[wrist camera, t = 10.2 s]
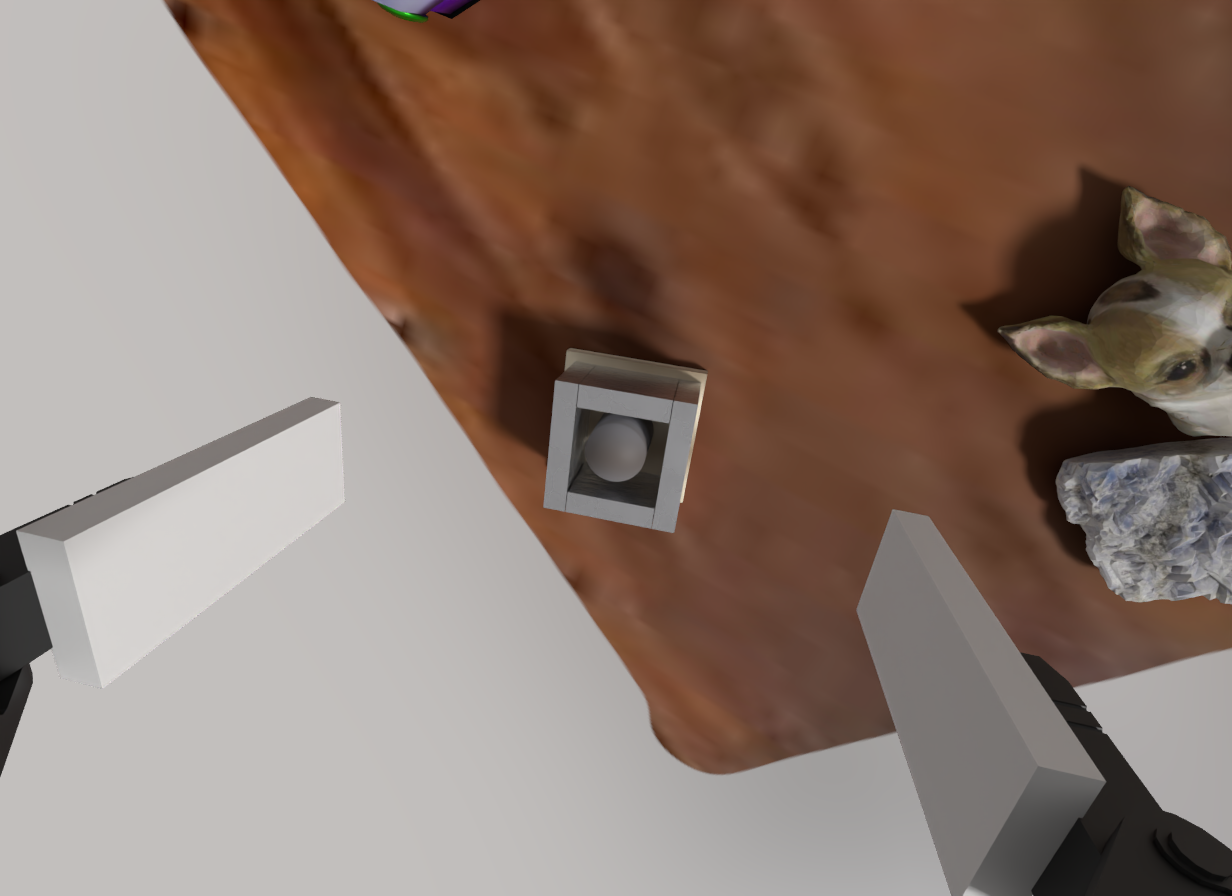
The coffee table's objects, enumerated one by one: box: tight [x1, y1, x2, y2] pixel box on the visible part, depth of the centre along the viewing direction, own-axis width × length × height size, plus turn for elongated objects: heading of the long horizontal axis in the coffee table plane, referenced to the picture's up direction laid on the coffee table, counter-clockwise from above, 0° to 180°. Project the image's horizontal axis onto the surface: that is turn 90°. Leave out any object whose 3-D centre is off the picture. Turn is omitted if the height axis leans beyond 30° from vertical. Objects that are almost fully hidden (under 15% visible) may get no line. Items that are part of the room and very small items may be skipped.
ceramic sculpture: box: [998, 186, 1232, 437], centre depth 33 cm, size 11×9×15 cm
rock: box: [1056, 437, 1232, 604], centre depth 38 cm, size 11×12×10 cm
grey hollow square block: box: [544, 361, 701, 533], centre depth 41 cm, size 9×9×6 cm
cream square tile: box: [565, 348, 708, 503], centre depth 42 cm, size 10×10×6 cm
